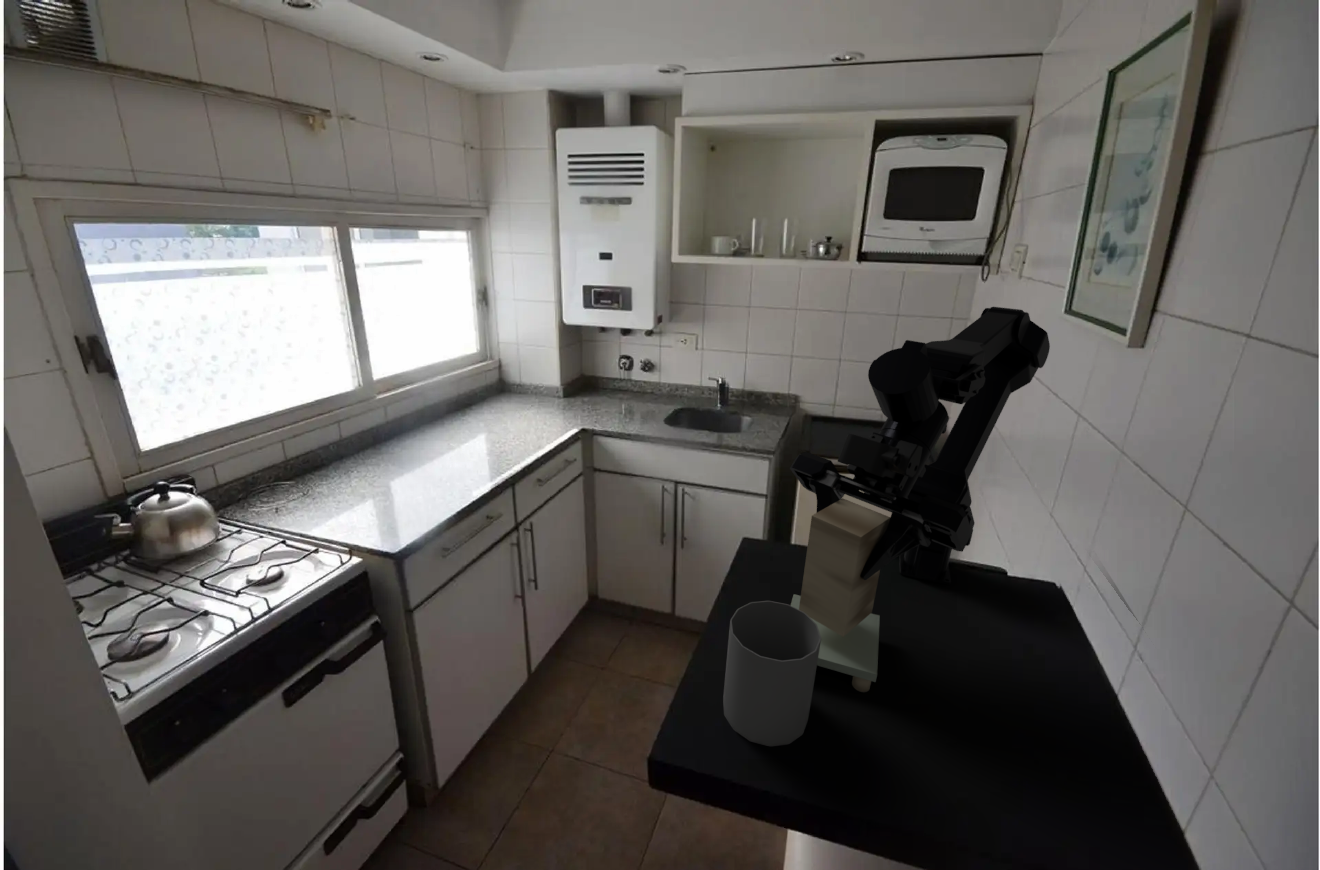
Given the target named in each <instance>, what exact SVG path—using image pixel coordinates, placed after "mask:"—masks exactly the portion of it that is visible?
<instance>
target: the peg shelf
mask: <svg viewBox="0 0 1320 870" xmlns="http://www.w3.org/2000/svg"><path fill="white" fill-rule="evenodd" d="M800 598H801V595H798V594H794V593H793V596H792V599H791V603H790V606H792V607H794V608H796V609H798V610H799V605H800ZM811 619H812V618H811ZM812 620H813V619H812ZM813 621H814V622H815V623H816V624H817V626H818V630H819V633H820V636H821V643H820V649H819V656H818V662H817V667H821V668H825V669H827V670H828V669H829V670H832V671H836V672H838V673H842V674H846V675H849V676H852V681H851V685H852V687H853V689H855V690H856V691H858V692H861V693H867V692H869V691H870V690H871V689H870V688H871V685H872V683H873V682H874V683H876V682H877V677H878V664H879V663H878V661H879V644H880V643H879V641H880V639H879V638H880V614H875V613H871V614H869V615H868V616H867V617H866V618H865V619H864V620H862V621H861V622H860V623H859V624H858V625H857V626H855V627H854V628H853V629H852V630H851V631H850V632H848V633H847V634H846V635H845V636H844V637H842V636H841V635H839V634H837V633H836V632H834V631H832V630H830V629H829V628H827V627H825V626H824V625H822V624H820V623H819V622H817V621H815V620H813Z"/></svg>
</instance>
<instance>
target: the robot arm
mask: <svg viewBox="0 0 1320 870" xmlns="http://www.w3.org/2000/svg"><path fill="white" fill-rule="evenodd" d="M1030 317H1031V316H1030V313H1029V312H1027V311H1024V310H1023V309H1018V308H1017V309H1016V308H1007V307H999V306H991V307H985V308H984V309H983V311H982V312H981V314H980V316H979V318H977V319H976V320H974V321H973V322H972V323H971V324H969V325H968V326H966V328H964V329H963V330H961V331H960V332H959V333H957V334H956V335H955V336H953V337H952V338H951V339H946V340H934V341H933V340H931V341H929V342H921V341H915V340H909V339H907V340H905V341H904V342H903V344H902V346H901V347H899V348H895V349H891V350H888V351H886V352H884V353H883V354H881V355H879V356H878V357H877V358H875V359H873V360H872V362H871V364H870V365H869V368H868V373H867V374H868V375H867V376H868V377H867V378H868V381H869V384H870V386H871V389H872V391H873V393H874V397H875V398H876V401H877V403H878V406H879V408H880V410H881V412H882V414H883V415H884V417H886V418H887V419H886V421H885V422H884V424H883V425H882V427H881V429H880V431H879V432H872V434H870V436H869V438H866V437H863V436H860V435H858V434H854V433H851V432H848V433H847V435H846V437H845V439H844V443H843V444H842V448H841V450H840V453H839V456H838V459H837V463H840V464H843V465H846V466H847V467H846V469H847V471H848V472H849V474H852V475H854V477H853V478H851V477H848V476H846V475H843V474H840V473H839V471H838V470H837V468H836V466H835V465H834V463H833V461H832V460H831V459H827V458H825V457H822V456H820V455H817V454H814V453H811V452H808V451H805V452H802V453H800V454H798V455H797V456H796V457H795V458H794V460H793V462H792V463H791V465H790V466H789V470H790V471H791V472H792V474H793V475H794V477H795V478H796V479H797V481H798V482H799V483H800V485H801V486H802V487H803V488H804V489H806V490H807V491H809V492H812V493H813V494H815V497H816V512H815V514H816V513H817V512H819V511H821V510H823V509H824V508H826V507H828V506H830V505H832V504H833V503H835V502H837V501H839V500H841V499H842V498H844V496H845V495H847V496H849V497H850V498H854V499H856V500H859V501H861V502H864V503H866V504H869V505H872V506H874V507H877V508H879V509H882V510H885V511H887V512H889V513H891V515H890V516H889V517H890V521H889V524H888V527H887V529H886V531H885V533H884V534H883V536H882V538H881V539H880V541H879V542H878V544H877V546H876V547H875V549H874V550H873V552H872V553H871V555H870V557H869V558H868V560H867V561H866V563H865V566H864V568H863V570H862V572H861V574H860V577H861V578H862V579H864V580H867V579H868V578H870V577H871V576H872V575H874V574H875V573H876V572H878V571H879V570H880V571H881V569H883V568H884V567H886V566H887V565H888V564H890V563H891V562H893V561H894V560H895V559H897V558H899V573H900V575H903V576H906V577H912V578H915V579H920V580H924V581H928V582H933V583H938V584H943V585H946V586H947V585H951V583H952V578H951V573H950V571H951V570H950V565H949V562H950V559H951V555H952V550H953V551H955V552H964V550H965V548H966V546H967V547H968V546H970V545H971V541H972V537H973V531H974V526H975V518H974V515H973V512H972V507H971V505H972V497H971V496H972V495H971V492H970V486H969V478H970V476H971V475H972V472H973V470H974V468H975V466H976V464H977V462H978V460H979V458H980V457H981V454H982V452H983V450H984V448H985V446H986V444H987V442H988V440H989V438H990V435H991V434H992V432H993V429H995V426H996V424H997V422H998V420H999V418H1000V416H1001V414H1002V412H1003V409H1004V407H1005V406H1006V404H1007V402H1008V399H1009V397H1010V395H1011V394H1013V393H1014V392H1016V391H1017V390H1020V389H1021V388H1023V387H1025V386H1027V385H1028V384H1030V383H1031V382H1032V380H1033V378H1034V377H1035V375H1036V372H1037V371H1038V369H1042V368H1043V367H1044V366H1045V365H1046V362H1047V359H1048V357H1049V353H1050V350H1051V349H1050V347H1051V345H1050V340H1049V335H1048V334H1049V333H1048V332H1047V331H1046V330H1045V329H1043V328H1042V327H1040V326H1039V325H1038V324H1036V323H1035V322H1033V321H1032V320H1031V318H1030ZM940 400H941V401H943V402H949V403H953V404H958V405H963V406H962V408H961V410H960V412H959V414H958V416H957V418H956V420H955V422H954V423H953V426H952V427H951V430H950V431H949V434H948V436H947V438H946V439H945V442H943V445H942V447H941V450H940V452H939V453H938V455H937V456H936V459H935V461H932V462H930V463H928V464H926V463H927V462H928V459H929V458H930V456H931V454H932V452H933V451H934V448H935V447H936V444H937V443H938V441H939V439H940V437H941V435H942V434H946V433H947V432H946V431H947V428H948V423H949V420H950V417H949V413H948V410H947V408H946V406H945V405H944V404H943V403H942V402H941V401H940Z"/></svg>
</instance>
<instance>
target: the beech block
mask: <svg viewBox="0 0 1320 870" xmlns="http://www.w3.org/2000/svg"><path fill="white" fill-rule="evenodd" d="M816 512H817V511H816ZM816 512H815V513H814V514H812V515H811V520H810V526H809V533H808V534H809V535H808V541H807V548H806V555H805V556H806V557H805V561H804V562H805V563H804V570H803V571H804V572H803V578H802V586H801V592H800V596H801V598H800V605H799V610H800V611H802V612H804V613H806V614H807V615H808V616H809V617H810V618H812V619H813V620H815V621H817V622H819V623H820V624H822V625H824V626H825V627H827V628H829V629H830V630H832V631H834V632H836V633H837V634H839V635H841V636H842V637H844V636H845V635H846V634H847V633H848V632H850V631H851V630H852V629H853V628H854V627H855V626H857V625H858V624H859V623H860V622H861V621H862V620H864V619H865V618H866V617H867V616H868V615H869V614H873V608H874V605H875V604H874V603H875V598H876V592H877V588H878V583H879V578H880V577H879V576H880V573H881V572H880V571H881V569H880V570H879V571H878V572H876V573H875V574H874V575H872V576H871V577H870V578H868V579H867V580H864V579H862V578H861V577H860V574H861V572H862V570H863V568H864V566H865V563H866V561H867V560H868V558H869V557H870V555H871V553H872V552H873V550H874V549H875V547H876V546H877V544H878V542H879V541H880V539H881V538H882V536H883V534H884V533H885V531H886V529H887V527H888V524H889V521H890V517H891V516H888V515H886V514H884V513H881V512H878V511H876V510H872V509H871V508H868V507H865V506H863V505H861V504H858V503H855V502H854V501H851V500H848V499H846V498H844V497H842V499H841V500H839V501H837V502H835V503H833V504H832V505H830V506H828V507H826V508H824V509H823V510H821V511H819V512H817V513H816Z"/></svg>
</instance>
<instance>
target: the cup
mask: <svg viewBox="0 0 1320 870" xmlns="http://www.w3.org/2000/svg"><path fill="white" fill-rule="evenodd" d="M729 620H730V621H729V631H728V641H727V653H726V664H725V675H724V684H723V685H724V687H723V697H722V701H723V702H722V703H723V704H722V705H723V715H724V717H725V719H726V720H727V722H728V724H729V726H730V727H731V728H732V729H733V731H735V732H736V733H737V734H739V735H740V736H741V737H743V738H744V739H746V740H747V741H749V742H752V743H755V744H758V745H763V746H767V747H778V746H787V745H790V744H792V743H793V742H795V741H796V740H797V739H798V738H800V737H802V736H803V735H804V732H805V729H806V727H807V724H808V721H809V716H810V709H811V705H812V698H813V691H814V685H815V680H816V674H817V672H816V671H817V667H818V666H817V662H818V656H819V649H820V643H821V636H820V633H819V630H818V626H817V624H816V623H815V622H814V621H813V620H812V619H811V618H810V617H809V616H808V615H807V614H806V613H804V612H802V611H800V610H798V609H796V608H794V607H792V606H791V604H787V603H783V602H777V601H772V600H762V601H750V602H749V603H747V604H745V605H743V606H741V607H739V608H737V609H736V611H735V612H734V614H733V615H732V617H731V618H730V619H729Z"/></svg>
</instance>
